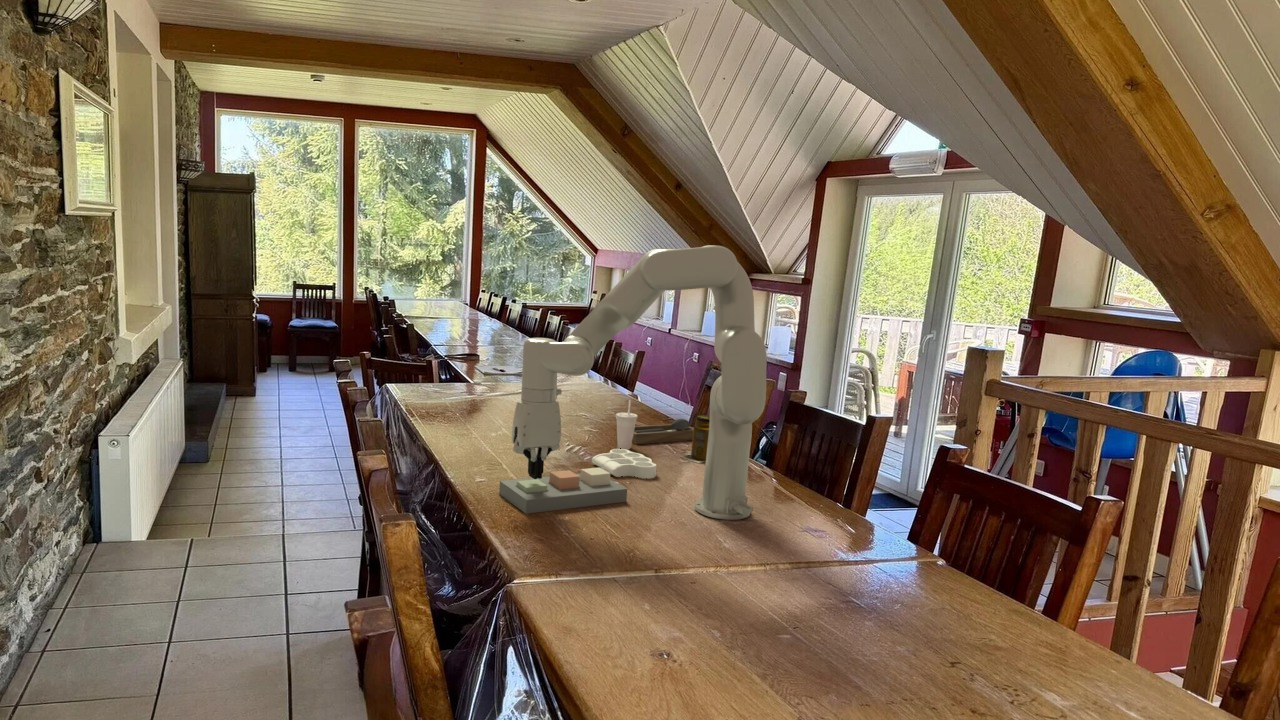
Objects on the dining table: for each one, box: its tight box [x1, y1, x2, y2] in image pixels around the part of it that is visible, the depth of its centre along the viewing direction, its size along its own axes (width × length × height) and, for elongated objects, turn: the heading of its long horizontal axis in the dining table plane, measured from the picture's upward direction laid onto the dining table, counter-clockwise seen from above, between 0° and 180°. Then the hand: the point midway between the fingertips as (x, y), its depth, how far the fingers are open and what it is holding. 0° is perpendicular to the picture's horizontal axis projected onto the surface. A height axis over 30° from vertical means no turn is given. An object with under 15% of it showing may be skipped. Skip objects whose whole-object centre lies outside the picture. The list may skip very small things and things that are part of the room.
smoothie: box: [615, 399, 639, 450], centre depth 230 cm, size 6×6×14 cm
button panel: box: [498, 472, 628, 515], centre depth 181 cm, size 14×25×3 cm, turn 123°
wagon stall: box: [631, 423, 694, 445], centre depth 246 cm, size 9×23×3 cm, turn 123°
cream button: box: [580, 466, 611, 486], centre depth 186 cm, size 5×5×4 cm
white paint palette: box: [591, 448, 657, 479], centre depth 209 cm, size 3×18×15 cm
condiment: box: [679, 414, 710, 464], centre depth 226 cm, size 7×8×12 cm
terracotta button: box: [549, 469, 580, 490], centre depth 181 cm, size 5×5×4 cm
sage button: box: [517, 479, 547, 493], centre depth 177 cm, size 5×5×4 cm
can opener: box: [634, 418, 690, 433], centre depth 245 cm, size 19×5×6 cm, turn 124°
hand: (535, 477), depth 177 cm, fingers closed
